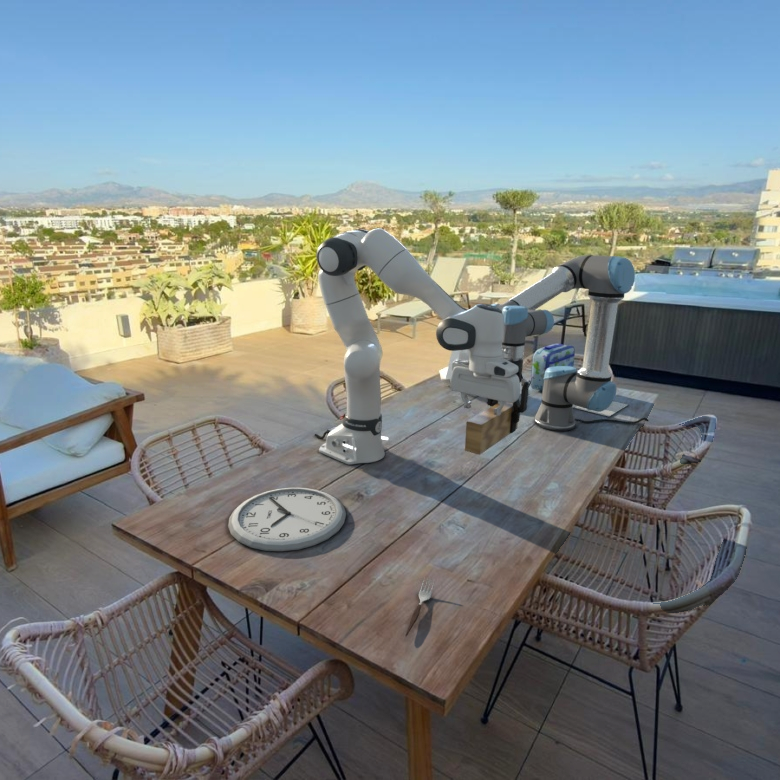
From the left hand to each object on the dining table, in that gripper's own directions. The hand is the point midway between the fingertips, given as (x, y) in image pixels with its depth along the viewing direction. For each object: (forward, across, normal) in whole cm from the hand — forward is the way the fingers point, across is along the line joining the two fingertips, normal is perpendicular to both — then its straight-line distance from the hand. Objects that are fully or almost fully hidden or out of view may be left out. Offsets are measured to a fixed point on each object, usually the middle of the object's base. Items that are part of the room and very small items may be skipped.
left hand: (482, 411), depth 148 cm
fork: (+23, +16, -55) cm, 62 cm away
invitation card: (+24, +8, +98) cm, 102 cm away
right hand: (+11, 0, +17) cm, 20 cm away
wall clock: (+23, -30, -47) cm, 61 cm away
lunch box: (+24, -19, +112) cm, 116 cm away
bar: (+11, 0, +8) cm, 14 cm away
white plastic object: (+23, -42, +83) cm, 96 cm away
